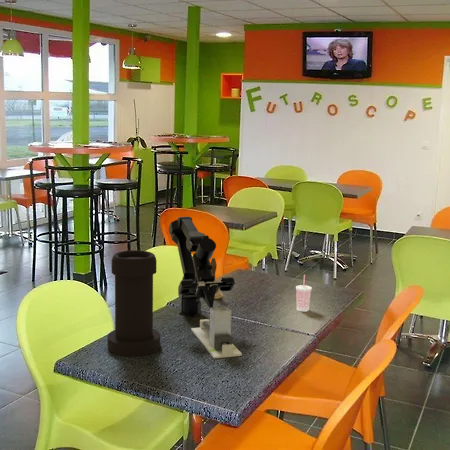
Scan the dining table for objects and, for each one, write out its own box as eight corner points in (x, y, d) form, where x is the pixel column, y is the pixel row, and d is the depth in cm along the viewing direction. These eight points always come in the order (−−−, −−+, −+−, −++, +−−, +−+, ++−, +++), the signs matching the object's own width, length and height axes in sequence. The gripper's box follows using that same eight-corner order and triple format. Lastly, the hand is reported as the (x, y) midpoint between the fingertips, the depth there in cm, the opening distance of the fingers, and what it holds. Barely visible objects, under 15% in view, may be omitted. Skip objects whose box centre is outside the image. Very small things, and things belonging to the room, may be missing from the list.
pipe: (139, 333, 206) (139, 246, 200) (170, 347, 194) (171, 255, 189) (97, 345, 194) (96, 253, 189) (127, 360, 183) (127, 263, 177)
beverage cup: (310, 307, 239) (312, 273, 236) (310, 312, 233) (312, 277, 230) (294, 306, 239) (296, 272, 237) (294, 311, 233) (296, 276, 231)
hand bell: (200, 298, 248) (201, 259, 245) (205, 292, 256) (206, 255, 253) (220, 299, 246) (221, 261, 243) (225, 294, 254) (226, 256, 251)
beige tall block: (209, 342, 197) (210, 307, 195) (225, 340, 198) (226, 306, 196) (214, 347, 192) (214, 312, 190) (230, 346, 194) (231, 311, 192)
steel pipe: (202, 327, 210) (202, 321, 210) (207, 326, 211) (208, 321, 210) (223, 351, 188) (223, 345, 188) (229, 351, 189) (229, 345, 189)
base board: (191, 329, 210) (191, 320, 210) (216, 327, 213) (216, 318, 213) (214, 358, 186) (214, 347, 186) (241, 355, 189) (242, 345, 188)
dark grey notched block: (214, 347, 192) (214, 336, 191) (229, 346, 194) (230, 334, 193) (216, 350, 190) (217, 339, 189) (232, 349, 191) (232, 337, 191)
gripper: (222, 277, 220) (231, 316, 212) (172, 280, 214) (179, 320, 206) (230, 261, 211) (240, 301, 203) (178, 264, 205) (185, 306, 197)
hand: (211, 308), depth 203 cm, fingers closed
